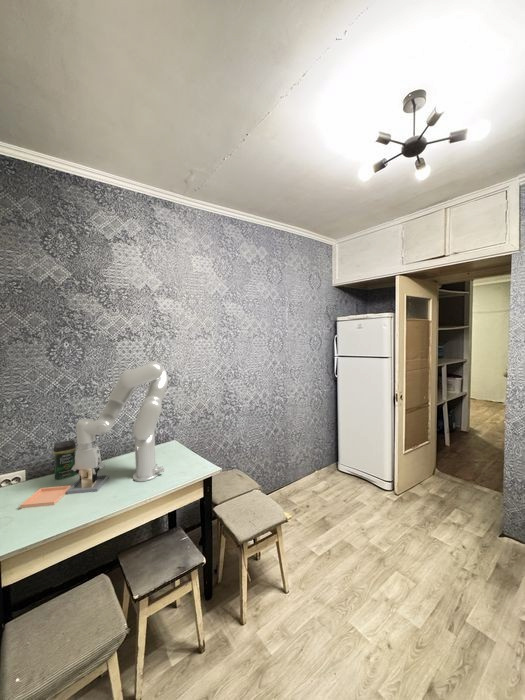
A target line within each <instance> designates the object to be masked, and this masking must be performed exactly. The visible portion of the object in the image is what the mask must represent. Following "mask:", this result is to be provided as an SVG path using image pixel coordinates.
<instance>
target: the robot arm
mask: <svg viewBox="0 0 525 700" xmlns="http://www.w3.org/2000/svg"><path fill="white" fill-rule="evenodd" d="M168 379H169V377H168V373H167V370H166V368H165V367H164V366H163V365H162V364H161V363H160V362H158V361H157V360H156V361H155V360H152V361H148V362H147V363H146V364H145V365H142V366H139V367H136V368H134V369H126V370H124V371H123V373H121V374H120V376H119V379H118V380H117V382H116V384H115V386H114V387H113V389H112V391H111V393H110V395H109V397H108V401H107V403H106V405H105V407H104V409H103V410H102V411H101V414H100V415H99V417H98V418H97V419H95V420H94V419H93V418H83V419H80V420H78V421H77V422H76V424H75V425H76V426H75V428H76V443H77V445H76V450H75V464H74V466H73V467H72V470H73V471H75V472H76V473H77V475H78V476H79V479H80V481H81V469H92V472H93V475H92V482H93V483H94V482H95V481H96V480H97V476H98V472H99V471H100V470H101V469H102V468H104V467H105V464H104V463H103V462H102V458H101V452H100V451H101V450H100V448H99V445H100V444H99V441H97V439H96V436H97V435H99V436H100V435H101V436H102V435H106V434H108V433H110V431H111V430H112V427H113V425H114V423H115V422H116V420H117V418H118V417H119V414H120V412H121V411H122V409H123V407H124V406H125V405H126V404H127V403H128V401H129V399H130V397H131V396H132V393H133V392H134V391H135V388H136V387H137V388H138V387H140V386H142V385H145V384H147V383H149V386H148V389H147V392H146V394H145V397H144V399H143V400H142V403H141V406H140V409H139V412H138V415H137V418H136V419H135V420H134V423H133V428H132V434H133V437H134V455H135V456H134V457H135V458H134V459H135V460H134V461H135V472H134V473H133V475H132V479H133V480H134V481H135V482H147V481H151V480H153V479H155V478H157V477H158V476H159V475H160V473H164V472H165V467H163V466H158V463H156V462H157V461H156V441H155V439H156V438H155V437H156V436H155V429H156V427H157V424H158V421H159V419H160V416H161V413H162V409H163V407H162V404H163V399H164V397H165V395H166V394H165V393H166V390H167V387H168V383H169V382H168V381H169V380H168ZM81 484H82V483H81Z"/></svg>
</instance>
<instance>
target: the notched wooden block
mask: <svg viewBox="0 0 525 700" xmlns="http://www.w3.org/2000/svg"><path fill="white" fill-rule="evenodd" d="M92 475H93V472H92V469H81V483H82V488H90V487H93V486H94V484H95V483H96V481H95V482H94V483H93V482H92Z"/></svg>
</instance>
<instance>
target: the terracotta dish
mask: <svg viewBox="0 0 525 700" xmlns="http://www.w3.org/2000/svg"><path fill="white" fill-rule="evenodd" d="M71 487H72V485H64V486H63V485H61V486H52V487H51V486H49V487H41V488H39V489H37V491H35V492H34V493H33V494H31V495H30V496H29V497H28V498H27V499H26V500H24V501H23V502H22V503H21V504H20V505H19V509H20V510H22V509H28V508H38V507H48V506H55V505H56V504H57V503H58V502H59V501H60V500H61V499H62V498H63V497H64V496H66V495H67V490H68V489H70V488H71Z"/></svg>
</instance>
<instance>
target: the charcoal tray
mask: <svg viewBox="0 0 525 700" xmlns="http://www.w3.org/2000/svg"><path fill="white" fill-rule="evenodd" d="M109 478H110V474H100V475H98V474H97V480H96V483H95V484H94V486H93V487H90V488H82V484H81V481H80V478H79V479H77V480H76V482H74V483H73V485H71V488H70V489H68V490H67V493H66V495H74V494H85V493H96V492H99V491H100V489H101V488H102V487H103V485H104V484H105V483H106V482H107V480H108V479H109Z"/></svg>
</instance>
